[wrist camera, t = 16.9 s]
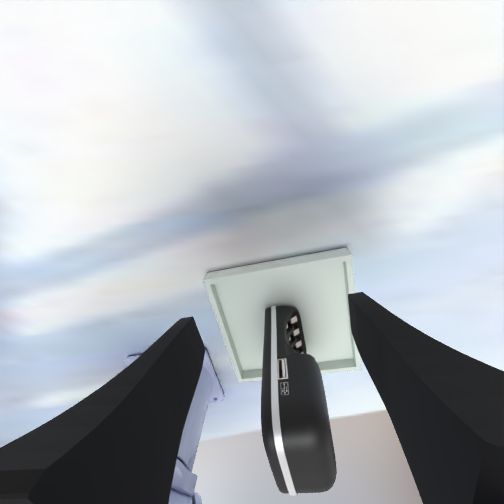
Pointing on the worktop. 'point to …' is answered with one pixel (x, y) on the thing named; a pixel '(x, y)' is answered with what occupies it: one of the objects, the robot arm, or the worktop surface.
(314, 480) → the battery charger
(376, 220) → the worktop surface
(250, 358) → the tray
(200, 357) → the robot arm
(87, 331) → the worktop surface
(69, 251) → the worktop surface
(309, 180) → the worktop surface
